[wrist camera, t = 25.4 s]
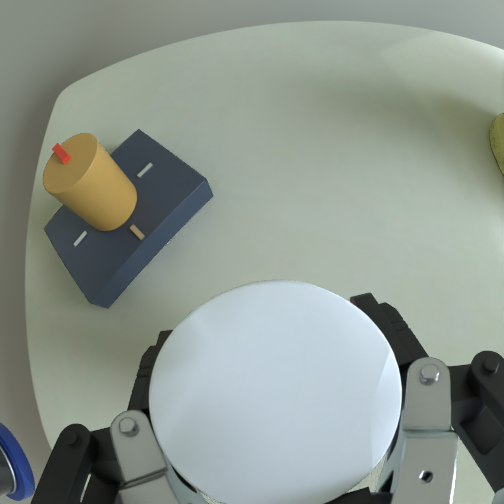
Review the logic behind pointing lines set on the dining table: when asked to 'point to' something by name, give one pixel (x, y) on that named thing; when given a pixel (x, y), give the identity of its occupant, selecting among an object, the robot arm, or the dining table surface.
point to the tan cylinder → (90, 182)
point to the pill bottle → (275, 395)
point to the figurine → (498, 140)
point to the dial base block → (130, 221)
